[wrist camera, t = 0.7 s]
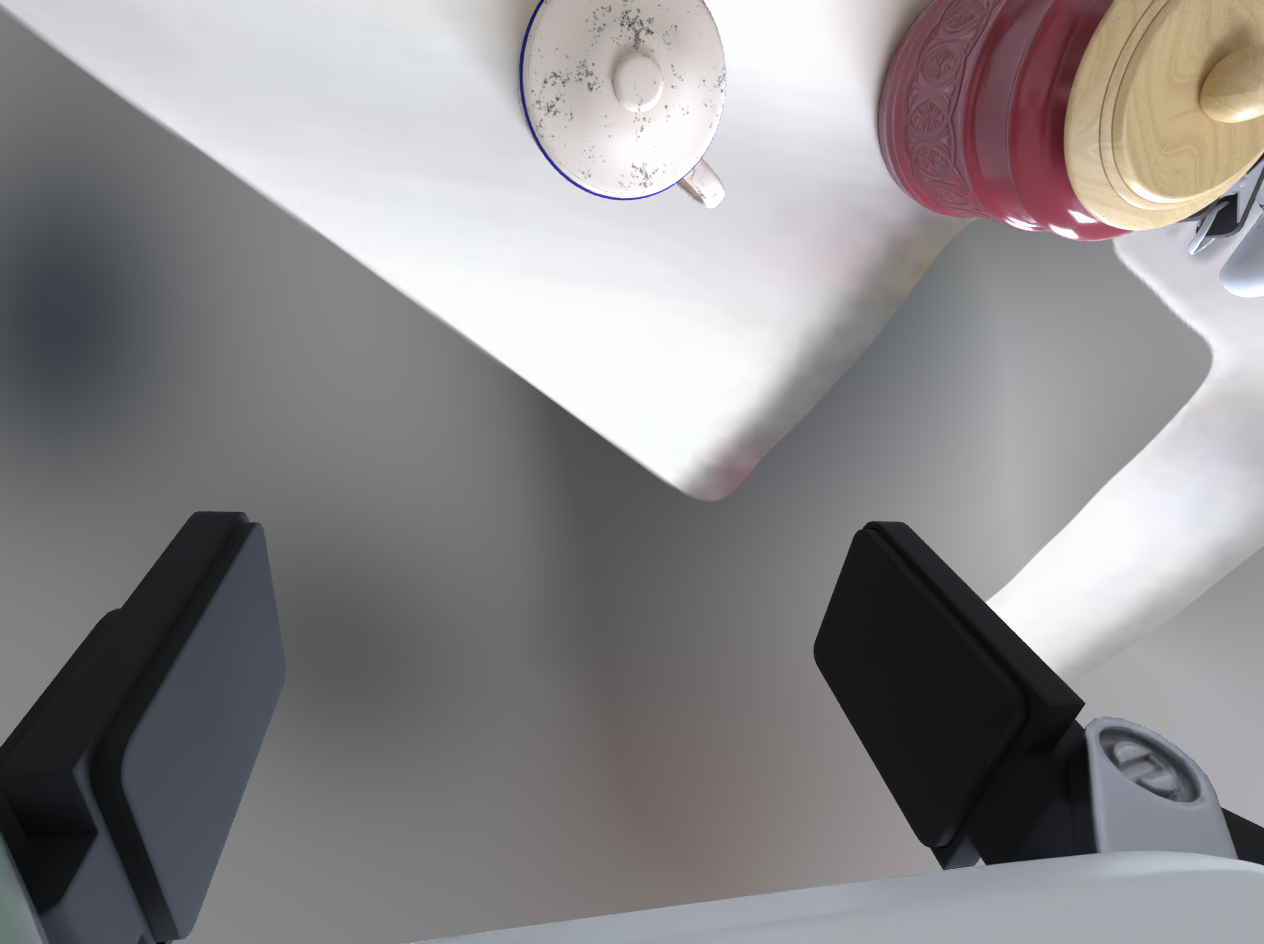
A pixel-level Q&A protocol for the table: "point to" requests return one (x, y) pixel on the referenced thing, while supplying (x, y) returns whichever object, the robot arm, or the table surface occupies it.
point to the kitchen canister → (1075, 110)
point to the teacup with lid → (625, 94)
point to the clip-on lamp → (1260, 255)
